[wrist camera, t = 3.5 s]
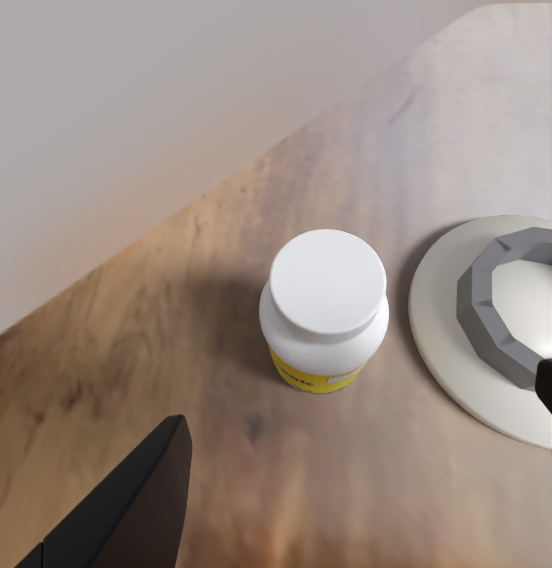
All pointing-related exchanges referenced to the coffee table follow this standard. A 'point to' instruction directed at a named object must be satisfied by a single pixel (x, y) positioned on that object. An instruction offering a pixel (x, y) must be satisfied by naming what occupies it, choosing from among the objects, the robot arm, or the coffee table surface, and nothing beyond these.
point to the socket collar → (489, 320)
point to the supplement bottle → (324, 309)
